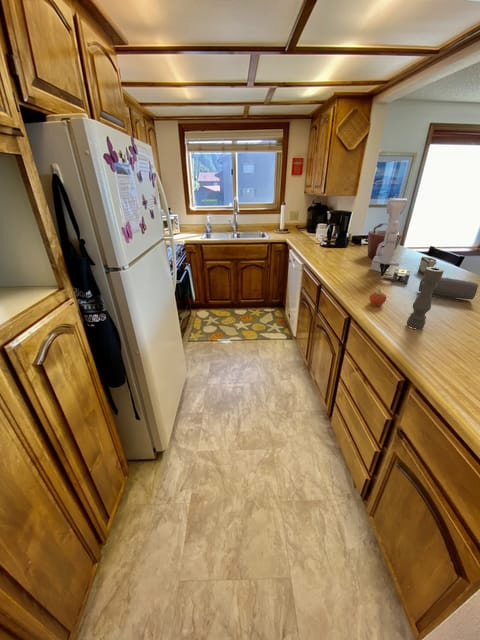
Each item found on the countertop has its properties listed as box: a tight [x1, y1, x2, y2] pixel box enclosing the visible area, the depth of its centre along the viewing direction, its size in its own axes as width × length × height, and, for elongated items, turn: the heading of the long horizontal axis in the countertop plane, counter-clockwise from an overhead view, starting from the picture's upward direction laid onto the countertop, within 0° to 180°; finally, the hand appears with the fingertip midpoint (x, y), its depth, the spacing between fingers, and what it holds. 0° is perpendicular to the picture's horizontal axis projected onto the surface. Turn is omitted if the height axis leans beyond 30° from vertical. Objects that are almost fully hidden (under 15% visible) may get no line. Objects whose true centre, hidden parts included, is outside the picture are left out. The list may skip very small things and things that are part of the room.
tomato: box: [369, 289, 387, 307], centre depth 128 cm, size 7×7×8 cm
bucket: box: [367, 222, 403, 260], centre depth 198 cm, size 24×22×25 cm
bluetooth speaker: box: [418, 276, 479, 301], centre depth 135 cm, size 23×9×10 cm, turn 59°
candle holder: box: [406, 266, 445, 330], centre depth 105 cm, size 6×6×25 cm
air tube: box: [383, 272, 405, 282], centre depth 159 cm, size 13×3×3 cm, turn 57°
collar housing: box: [391, 268, 412, 285], centre depth 157 cm, size 8×9×6 cm
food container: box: [417, 256, 437, 277], centre depth 166 cm, size 12×6×10 cm, turn 168°
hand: (382, 275), depth 163 cm, fingers closed
